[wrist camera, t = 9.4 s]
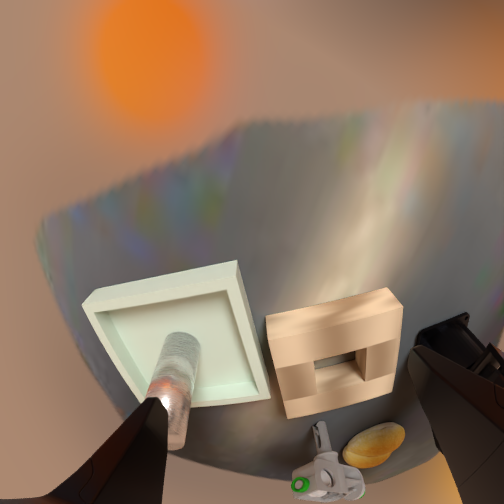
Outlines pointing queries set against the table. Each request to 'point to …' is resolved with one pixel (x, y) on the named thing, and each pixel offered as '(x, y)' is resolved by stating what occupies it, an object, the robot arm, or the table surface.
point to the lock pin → (176, 382)
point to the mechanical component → (326, 474)
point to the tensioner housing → (336, 351)
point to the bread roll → (373, 445)
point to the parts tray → (184, 320)
